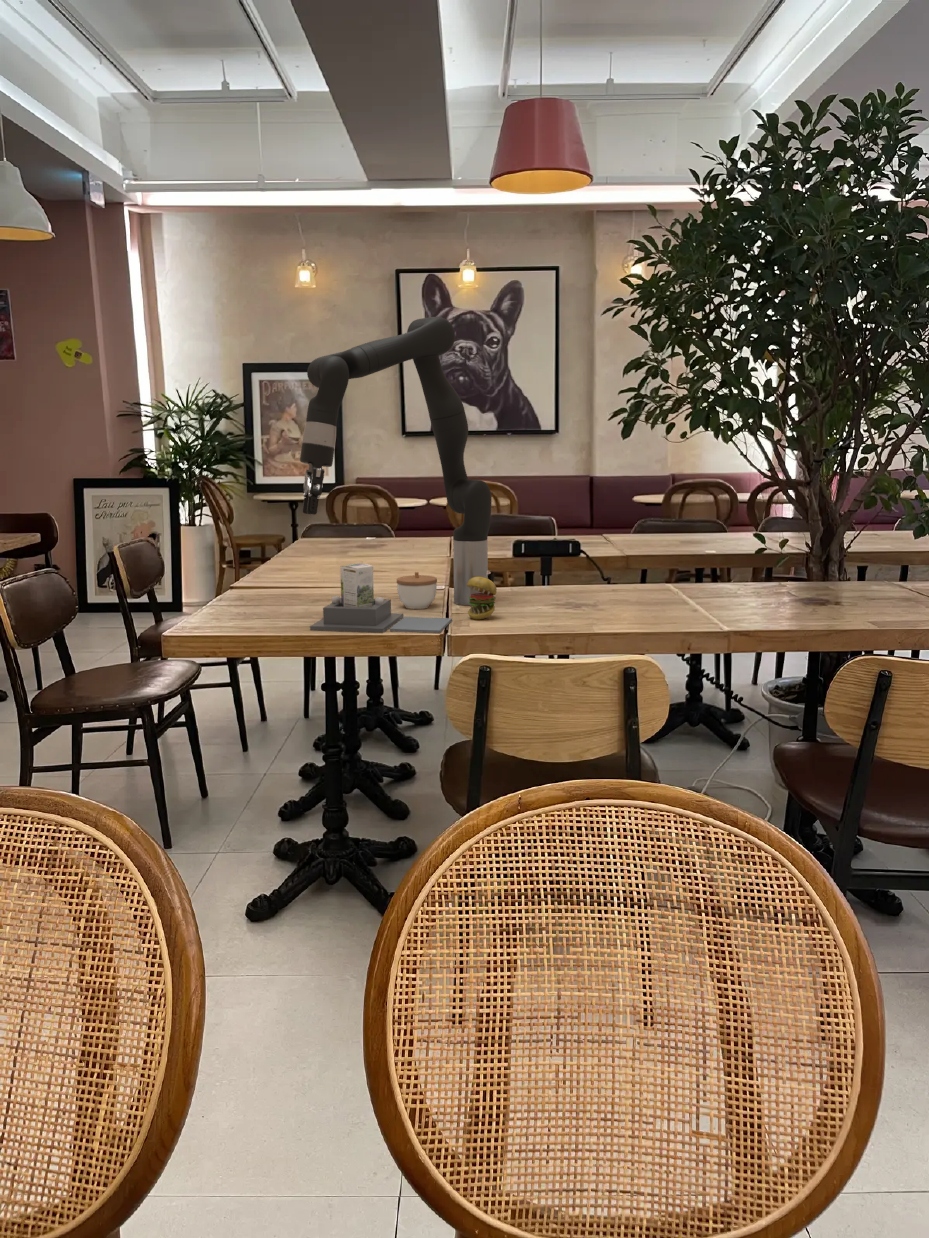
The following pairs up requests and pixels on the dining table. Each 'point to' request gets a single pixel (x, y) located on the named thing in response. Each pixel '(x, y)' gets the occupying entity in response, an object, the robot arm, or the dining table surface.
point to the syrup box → (357, 585)
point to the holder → (357, 617)
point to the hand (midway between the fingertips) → (309, 514)
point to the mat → (421, 624)
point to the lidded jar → (417, 590)
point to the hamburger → (481, 597)
